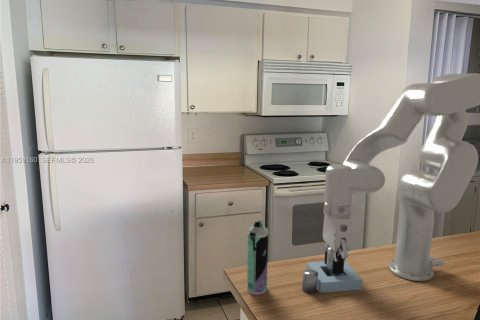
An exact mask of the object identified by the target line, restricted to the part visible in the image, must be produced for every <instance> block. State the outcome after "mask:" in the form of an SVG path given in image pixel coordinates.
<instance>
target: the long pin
mask: <svg viewBox="0 0 480 320" xmlns="http://www.w3.org/2000/svg"><path fill="white" fill-rule="evenodd" d="M340 249H341V248H338V250H340ZM340 254H341V252H337V256H338V255H340ZM333 260H334V250H332V249H331V248H330V246H328V247H327V269H326V275H327V277H328V276H340V274H333V273H332V264H333Z"/></svg>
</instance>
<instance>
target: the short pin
mask: <svg viewBox="0 0 480 320" xmlns="http://www.w3.org/2000/svg"><path fill="white" fill-rule="evenodd" d="M302 272H303V273H302V286H301V289H302V291H303V292H305V293H308V294H315V293H316V292H317V291H318V288H317V281H318V272H317V271H315V270H311V269H307V268H306V269H304V270H303V271H302Z"/></svg>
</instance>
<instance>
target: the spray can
mask: <svg viewBox="0 0 480 320" xmlns="http://www.w3.org/2000/svg"><path fill="white" fill-rule="evenodd" d="M268 249H269V230H268V228H267V227H266V226H264V224H263V223H262V220H255V222H254V224H253V225H252V226H250V227H248V230H247V257H246V258H247V262H246V263H247V267H246V270H247V271H246V272H247V273H246V290H247V292H248V293H249V294H251V295H255V296H256V295H257V296H260V295H263V294H265V293H267V289H268V288H267V286H268V252H269V250H268Z"/></svg>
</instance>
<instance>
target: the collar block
mask: <svg viewBox="0 0 480 320" xmlns="http://www.w3.org/2000/svg"><path fill="white" fill-rule="evenodd" d="M324 262H325V260H323V261H311V262H310V261H308V262H306V269H311V270H315V271H317V272H318V281H317V291H319V293H321V294H323V293H333V292H334V293H336V292H348V291H349V292H352V291H361V290H363V278H362V277H360V275H359V274H358V273H357V272H356V271H355V269H353V268H352V267H351V265H349V263H348V262H347V261H346V260H345V261H344V272H343V273H342V274H340V276H328V277H327V275H326V269H327V265H326V264H325V263H324Z"/></svg>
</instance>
